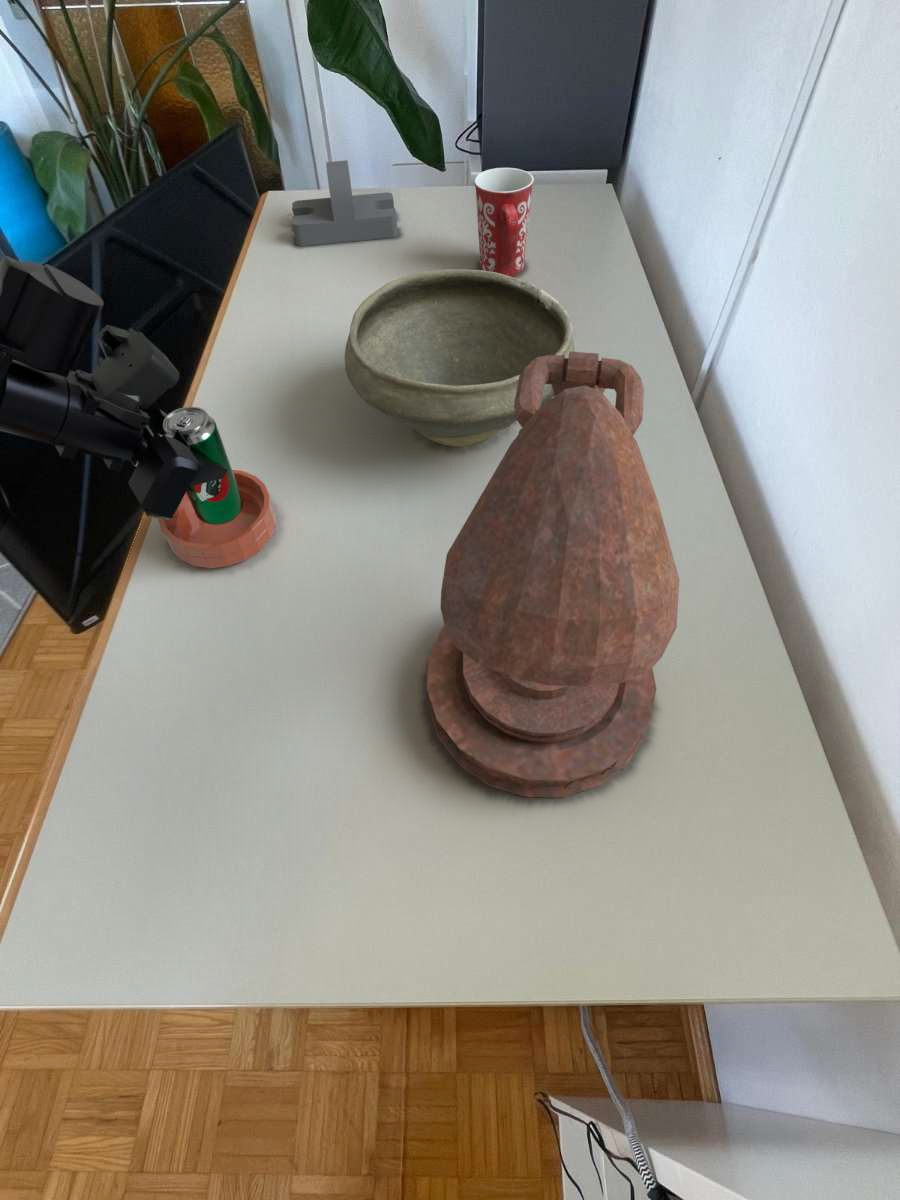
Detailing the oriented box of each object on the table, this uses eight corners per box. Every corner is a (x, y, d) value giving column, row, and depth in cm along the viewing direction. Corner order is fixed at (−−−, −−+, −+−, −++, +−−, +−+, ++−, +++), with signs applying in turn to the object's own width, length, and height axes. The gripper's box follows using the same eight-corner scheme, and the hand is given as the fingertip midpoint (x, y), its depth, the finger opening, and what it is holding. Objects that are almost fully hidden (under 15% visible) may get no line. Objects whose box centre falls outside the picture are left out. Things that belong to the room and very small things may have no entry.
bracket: (398, 237, 123) (392, 170, 115) (296, 246, 122) (282, 179, 113) (393, 212, 129) (387, 147, 120) (296, 221, 128) (283, 156, 119)
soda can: (253, 501, 76) (223, 410, 66) (227, 533, 73) (192, 442, 64) (214, 490, 77) (179, 399, 68) (187, 520, 74) (146, 430, 65)
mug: (471, 255, 118) (471, 168, 108) (524, 251, 119) (529, 164, 108) (479, 294, 111) (479, 205, 100) (535, 290, 111) (542, 200, 100)
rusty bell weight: (389, 861, 58) (283, 532, 26) (453, 567, 77) (438, 168, 45) (648, 904, 55) (885, 598, 23) (648, 589, 74) (779, 182, 42)
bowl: (475, 524, 80) (475, 427, 69) (312, 429, 92) (289, 331, 81) (607, 405, 93) (625, 306, 82) (449, 334, 104) (446, 238, 93)
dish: (165, 577, 77) (151, 553, 74) (177, 500, 84) (165, 475, 81) (276, 564, 78) (267, 540, 75) (278, 488, 85) (270, 464, 82)
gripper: (131, 379, 50) (297, 441, 63) (58, 275, 60) (214, 347, 72) (71, 503, 54) (239, 538, 67) (11, 386, 64) (168, 436, 76)
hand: (215, 459), depth 70 cm, fingers closed on soda can, 5 cm apart
